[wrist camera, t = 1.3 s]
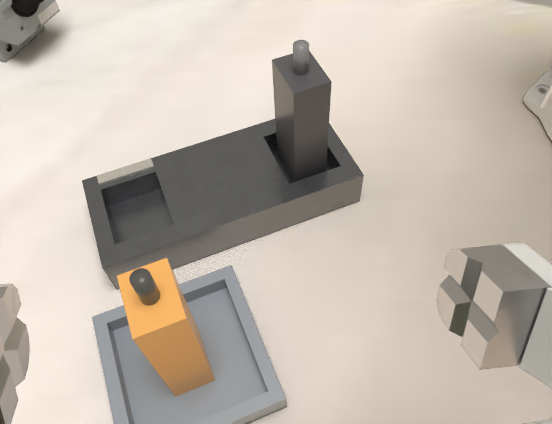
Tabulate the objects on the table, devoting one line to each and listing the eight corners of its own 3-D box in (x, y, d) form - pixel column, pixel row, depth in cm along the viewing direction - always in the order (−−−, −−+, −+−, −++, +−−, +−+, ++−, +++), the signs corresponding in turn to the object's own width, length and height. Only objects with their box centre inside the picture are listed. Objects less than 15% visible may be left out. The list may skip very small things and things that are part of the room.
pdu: (316, 132, 55) (317, 103, 51) (359, 201, 49) (363, 173, 46) (96, 205, 50) (81, 179, 47) (116, 289, 45) (101, 266, 41)
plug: (198, 330, 41) (157, 237, 30) (215, 380, 39) (178, 300, 27) (161, 345, 41) (104, 255, 29) (175, 396, 38) (120, 322, 27)
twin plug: (306, 147, 51) (308, 23, 40) (325, 178, 49) (332, 56, 37) (277, 157, 51) (270, 34, 39) (295, 189, 48) (293, 67, 37)
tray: (234, 277, 45) (231, 265, 43) (286, 406, 38) (286, 398, 36) (101, 327, 43) (92, 316, 41) (132, 474, 36) (123, 469, 34)
